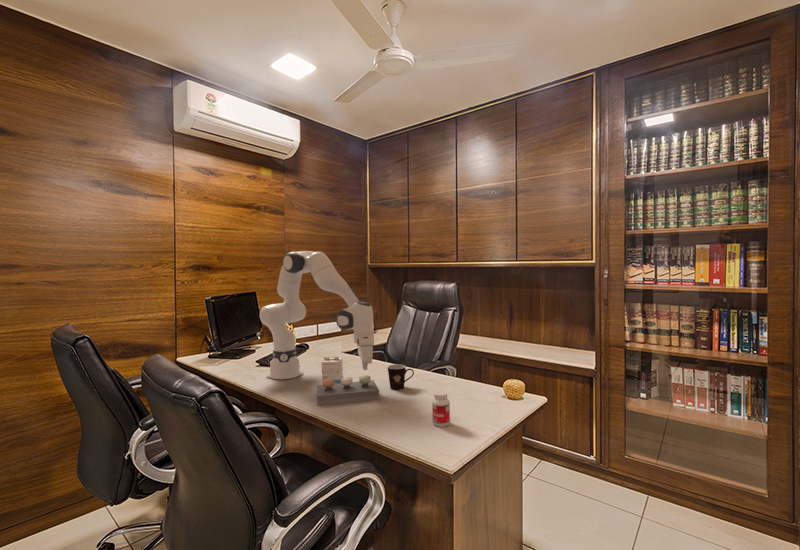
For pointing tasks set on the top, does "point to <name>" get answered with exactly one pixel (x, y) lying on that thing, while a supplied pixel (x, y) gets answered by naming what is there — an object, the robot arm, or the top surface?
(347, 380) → the cream button
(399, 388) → the coffee mug
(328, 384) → the terracotta button
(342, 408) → the top surface
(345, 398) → the console
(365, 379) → the sage button
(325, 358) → the ink box
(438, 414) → the pill bottle
